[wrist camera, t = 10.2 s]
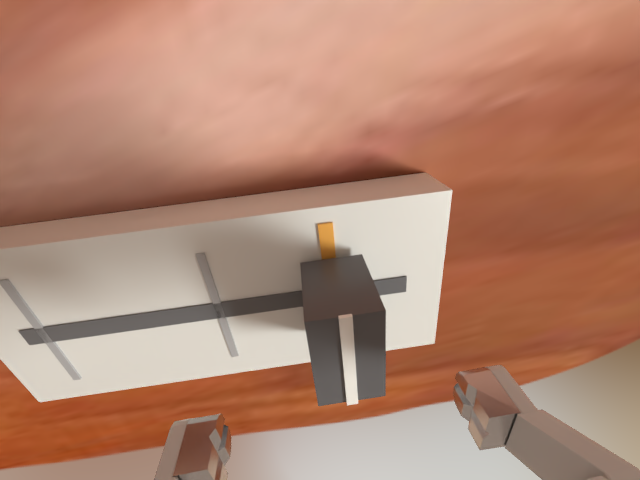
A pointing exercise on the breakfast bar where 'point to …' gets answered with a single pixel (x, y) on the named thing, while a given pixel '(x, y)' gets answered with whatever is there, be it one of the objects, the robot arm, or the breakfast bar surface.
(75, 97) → the breakfast bar surface
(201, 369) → the fader console
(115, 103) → the breakfast bar surface
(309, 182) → the breakfast bar surface
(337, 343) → the fader knob
